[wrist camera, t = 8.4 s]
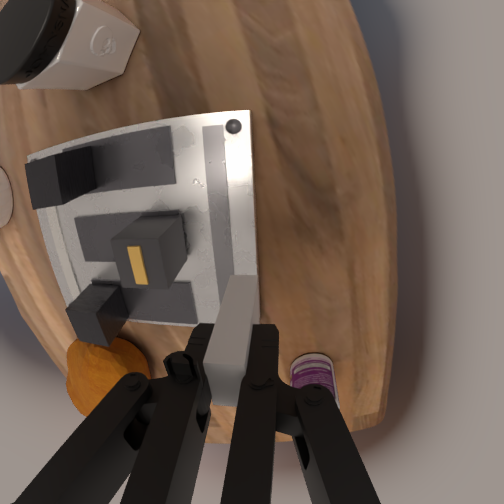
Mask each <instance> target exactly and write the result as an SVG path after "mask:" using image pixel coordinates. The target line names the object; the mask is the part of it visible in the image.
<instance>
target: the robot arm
mask: <svg viewBox="0 0 504 504" xmlns="http://www.w3.org/2000/svg"><path fill="white" fill-rule="evenodd" d="M259 316H260V314H259V289H258V275H230V278H229V281H228V284H227V287H226V291H225V294H224V297H223V300H222V303H221V306H220V309H219V313H218V316H217V319H216V322H215V324H214V323H199V324H198V325H197V326H196V327H195V328H194V329H193V331H192V333H191V336H190V338H189V341H188V345H187V346H186V349H185V351H177V352H174V353H171V354H170V355H168V356H167V357H166V358H165V359H164V361H163V362H164V365H165V368H166V371H167V374H168V376H167V377H163V378H157V379H148V378H147V377H146V375H144V374H143V373H140V372H130V373H128V374H125V375H124V376H123V377H122V378H121V379H120V380H119V381H118V382H117V383H116V384H115V385H114V386H113V388H112V389H111V390H110V391H109V392H108V393H107V394H106V396H105V397H104V398H103V399H102V400H101V401H100V402H99V404H98V405H97V406H96V407H95V408H94V409H93V410H92V412H91V413H90V414H89V415H88V416H87V417H86V418H85V420H84V421H83V422H82V423H81V424H80V425H79V426H78V428H77V429H76V430H75V431H74V432H73V433H72V435H71V436H70V437H69V438H68V439H67V440H66V442H65V443H64V444H63V445H62V446H61V447H60V449H59V450H58V451H57V452H56V453H55V454H54V456H53V457H52V458H51V459H50V460H49V461H48V463H47V464H46V465H45V466H44V467H43V469H42V470H41V471H40V472H39V473H38V475H37V476H36V477H35V478H34V479H33V480H32V482H31V483H30V484H29V485H28V486H27V488H26V489H25V490H24V491H23V492H22V494H21V495H20V496H19V497H18V498H17V500H16V501H15V502H14V503H12V504H109V502H110V501H111V499H112V498H113V497H114V495H115V494H116V493H117V491H118V490H119V488H120V487H121V485H122V484H123V483H124V481H125V480H126V478H127V477H128V476H129V474H130V473H131V474H130V477H129V479H128V482H127V485H126V488H125V491H124V494H123V497H122V499H121V502H120V504H191V500H192V496H193V491H194V487H195V483H196V478H197V474H198V469H199V465H200V461H201V456H202V451H203V447H204V443H205V439H206V434H207V430H208V426H209V421H210V417H211V410H210V403H211V399H212V402H213V405H222V406H236V407H237V410H236V416H235V422H234V427H233V433H232V439H231V445H230V451H229V457H228V463H227V469H226V474H225V480H224V486H223V491H222V497H221V503H220V504H271V492H272V479H273V465H274V464H273V463H274V450H275V432H276V431H277V432H281V433H284V434H288V435H291V436H292V438H293V442H294V445H295V448H296V452H297V455H298V459H299V462H300V465H301V469H302V472H303V475H304V478H305V481H306V485H307V488H308V491H309V495H310V498H311V501H312V504H381V503H380V501H379V498H378V496H377V494H376V491H375V489H374V487H373V484H372V482H371V480H370V478H369V475H368V473H367V471H366V469H365V466H364V464H363V462H362V459H361V457H360V455H359V453H358V450H357V448H356V446H355V444H354V441H353V439H352V437H351V435H350V432H349V430H348V428H347V425H346V423H345V421H344V419H343V417H342V414H341V412H340V410H339V408H338V405H337V403H336V401H335V399H334V397H333V394H332V393H331V391H330V390H329V389H328V388H327V387H325V386H323V385H320V384H308V385H306V386H303V387H302V388H300V389H299V388H295V387H292V386H289V385H287V384H285V383H284V382H283V381H282V380H281V379H280V378H279V376H278V356H279V331H278V329H277V328H276V326H275V324H259Z"/></svg>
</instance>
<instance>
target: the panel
mask: <svg viewBox="0 0 504 504" xmlns="http://www.w3.org/2000/svg"><path fill="white" fill-rule="evenodd" d="M27 159H28V163H27V164H25V169H26V176H27V182H28V187H29V193H30V198H31V203H32V207H33V210H35V209H36V210H37V214H38V218H39V223H40V227H41V230H42V234H43V238H44V241H45V245H46V248H47V252H48V255H49V258H50V261H51V264H52V267H53V270H54V273H55V276H56V279H57V282H58V284H59V287H60V290H61V292H62V295H63V297H64V300H65V302H66V305H67V308H66V309H65V310H66V312H67V315H68V317H69V319H70V322H71V324H72V326H73V328H74V330H75V332H76V335H77V337H78V339H79V341H82V342H86V343H91V344H96V345H102V346H107V347H110V345H111V343H112V342H113V340H114V339H115V337H116V336H117V334H118V333H119V331H120V330H121V328H122V327H123V325H124V324H125V322H126V321H132V322H141V323H152V324H163V325H176V326H191V327H196V326H197V325H198V324H199V323H214V324H215V322H216V319H217V316H218V313H219V309H220V306H221V303H222V300H223V297H224V294H225V291H226V287H227V284H228V281H229V278H230V275H258V289H259V314H260V316H259V324H260V318H261V313H260V288H259V263H258V240H257V217H256V194H255V173H254V152H253V131H252V112H251V111H250V110H243V111H229V112H217V113H207V114H198V115H190V116H183V117H176V118H169V119H163V120H157V121H151V122H146V123H141V124H136V125H131V126H126V127H121V128H117V129H113V130H109V131H104V132H100V133H97V134H93V135H89V136H85V137H82V138H78V139H75V140H72V141H68V142H65V143H62V144H59V145H56V146H53V147H50V148H47V149H44V150H41V151H38V152H36V153H33V154H30V155H28V156H27ZM173 215H181V218H182V225H183V232H184V239H185V246H186V252H187V261H186V262H185V264H184V265H183V267H182V269H181V270H180V272H179V273H178V275H177V277H176V278H175V280H174V282H173V283H172V285H171V286H170V288H169V290H164V289H141V288H123V287H122V284H121V280H120V277H119V273H118V270H117V266H116V262H115V258H114V254H113V250H112V246H111V242H110V239H112V238H113V237H114V236H115V235H117V234H118V233H119V232H120V231H122V230H123V229H124V228H126V227H127V226H128V225H129V224H131V223H132V222H133V221H135V220H136V219H137V218H139V217H154V216H173Z"/></svg>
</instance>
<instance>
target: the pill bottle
mask: <svg viewBox="0 0 504 504" xmlns="http://www.w3.org/2000/svg"><path fill="white" fill-rule="evenodd" d="M308 384H320V385H323V386H325V387H327V388H328V389H329V390H330V391H331V393H332V394H333V397H334V399H335V401H336V403H337V405H338V408H339V409H340V404H339V398H338V392H337V385H336V379H335V373H334V368H333V363H332V361H331V360H330V359H329V358H328V357H327V356H325V355H322V354H314V353H313V354H307V355H303V356H301V357H299V358H297V359H296V360H295V361H294V362H293V363H292V365H291V368H290V386H292V387H295V388H299V389H300V388H302V387H303V386H306V385H308Z"/></svg>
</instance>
